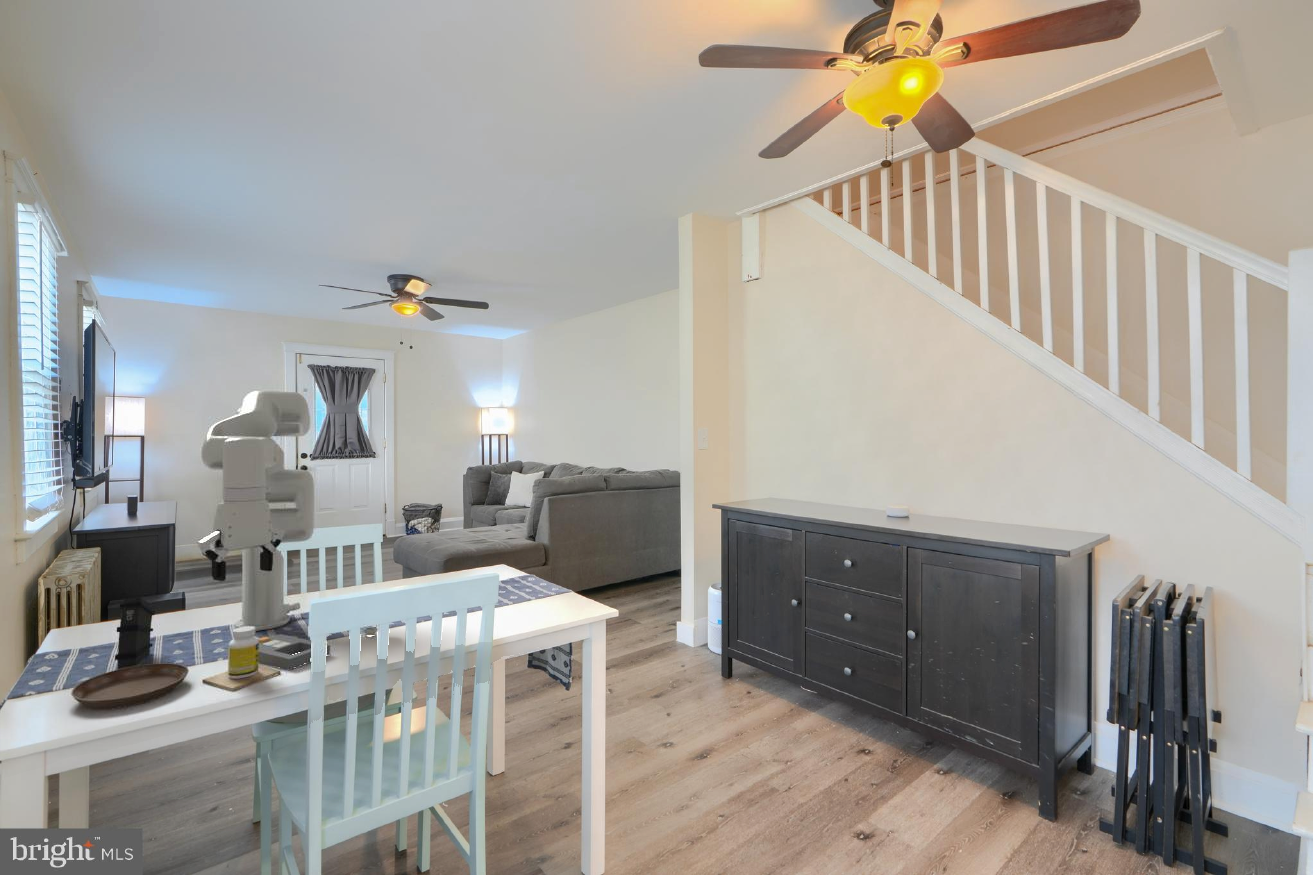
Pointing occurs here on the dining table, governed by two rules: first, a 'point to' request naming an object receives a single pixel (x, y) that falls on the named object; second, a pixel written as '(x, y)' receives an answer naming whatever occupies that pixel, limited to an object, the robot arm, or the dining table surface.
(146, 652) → the magazine
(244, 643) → the supplement bottle
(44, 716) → the dining table surface
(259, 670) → the cork mat
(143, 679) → the plant saucer
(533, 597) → the dining table surface
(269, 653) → the grey panel with buttons
